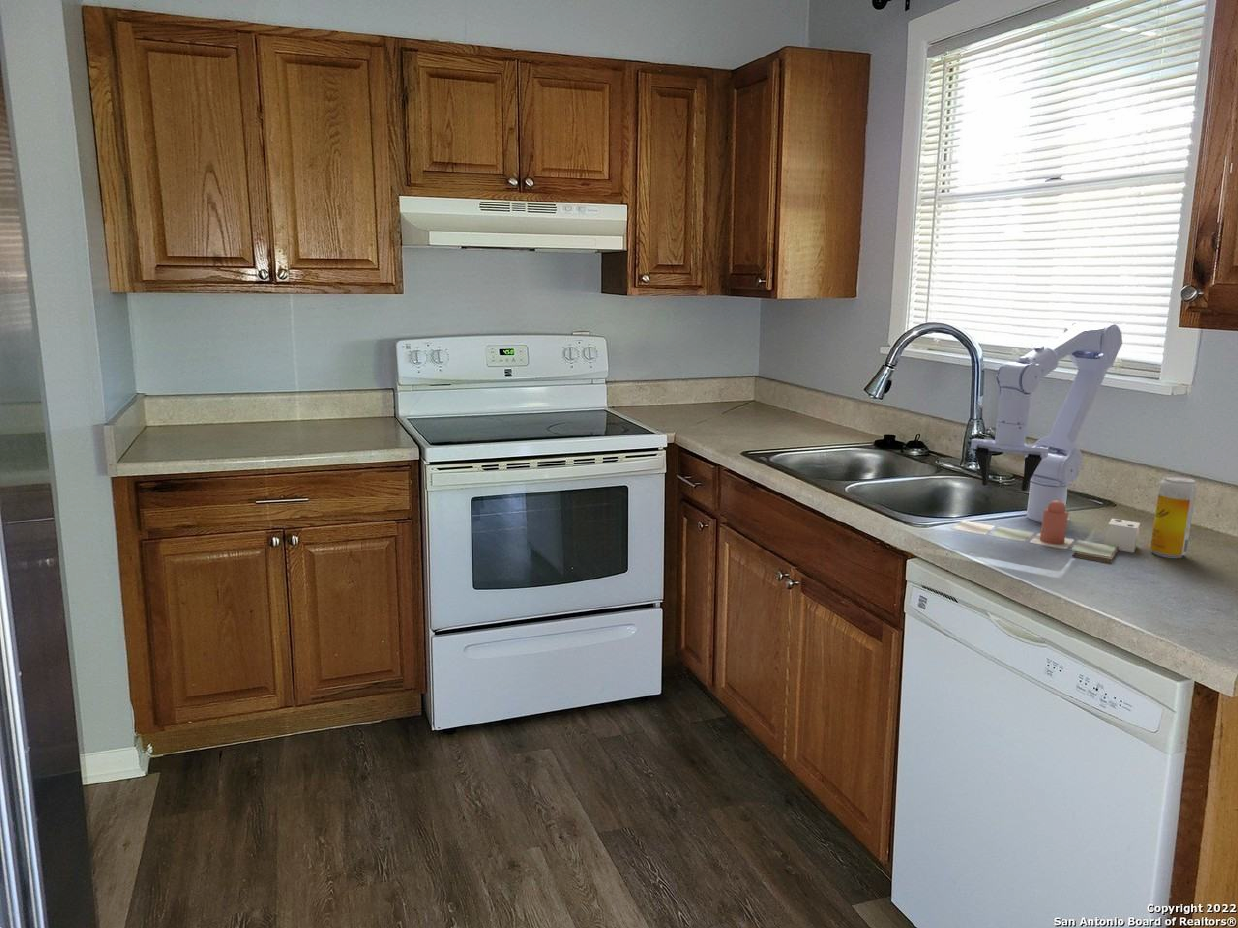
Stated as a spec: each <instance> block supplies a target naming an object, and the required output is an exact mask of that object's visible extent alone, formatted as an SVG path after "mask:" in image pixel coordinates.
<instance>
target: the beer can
mask: <svg viewBox="0 0 1238 928" xmlns="http://www.w3.org/2000/svg"><path fill="white" fill-rule="evenodd" d="M1158 487H1159V488H1158V493H1157V499H1156V507H1155V512H1154V513H1155V514H1154V518H1153V525H1152V532H1151V540H1150V545H1149V549H1151V551H1152V553H1153V554H1154V555H1155V556H1159V557H1163V558H1169V559H1181V558H1183V556H1185V555H1186V554H1187V552H1188V551H1187V549H1188V544H1189V539H1190V538H1189V536H1190V531H1191V525H1192V519H1193V513H1194V506H1195V501H1196V495H1197V494H1196V493H1197V488H1198V486H1197V484H1196V480H1194V479H1192V478H1190V477H1184V476H1179V475H1178V476H1176V475H1166V476H1163V477H1162V479H1161V481H1160V482H1159V485H1158Z"/></svg>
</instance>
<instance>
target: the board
mask: <svg viewBox="0 0 1238 928" xmlns="http://www.w3.org/2000/svg"><path fill="white" fill-rule="evenodd" d="M996 527H997V526H996V525H993V524H992V525H991V524H985V523H982V522H975V521H968V520H963V519H962V520H961V521H959V522H958V523H957V524H955V525H954V526H953V527H951V528H950V529H951V530H955V531H961V532H967V533H972V534H973V533H974V534H978V535H982V536H983V535H988V534H989V533H990V532H991V531H992V530H993V529H995V528H996ZM1034 534H1035V532H1033V531H1029V530H1028V531H1027V530H1021V529H1015V528H1009V527H1004V526H998V527H997V528H996V529H995V530H994V531H992V532H991V534H989V535H988V536H989V537H995V538H1001V539H1007V540H1011V541H1012V540H1013V541H1018V542H1024V543H1026V542H1027V541H1028V540H1029V538H1031V537H1032V536H1033V535H1034ZM1040 534H1041V532H1040V533H1039V532H1038V533H1037V534H1036V535H1035V536H1034V537H1033V538H1032V539H1031V540H1030V541H1029V542H1028V543H1029V544H1034V545H1040V546H1046V547H1052V548H1056V549H1057V548H1058V549H1062V550H1063V549H1064V550H1067V549H1068V548H1069V547H1070V546H1071V545H1072V543H1074V541H1075V539H1072V538H1067V537H1065V540H1064V543H1063V544H1051V543H1046V542H1043V541H1041V540H1040ZM1070 551H1074V553H1073V554H1072V555H1071V557H1074V558H1080V559H1085V560H1091V561H1095V562H1096V561H1097V562H1101V563H1107V564H1112V562H1113V561H1114V559H1115V558H1116V556H1117V554H1118V553H1119V551H1120V550H1119V547H1116V546H1110V545H1105V544H1104V543H1097V542H1091V541H1086V540H1080V539H1078V540H1077V541H1076V542H1075V544H1074V545H1073V546H1072V548H1071V549H1070Z"/></svg>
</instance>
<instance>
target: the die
mask: <svg viewBox="0 0 1238 928" xmlns="http://www.w3.org/2000/svg"><path fill="white" fill-rule="evenodd" d="M1140 525H1141V522H1136V521H1129V520H1124V519H1118V518H1111V520H1109V522H1108V524H1107V530H1106V538H1105V544H1104V545H1110V546H1116V547H1119V550H1118V551H1123V552H1128V553H1134V552H1135V551H1136V549H1137V546H1138V540H1139V539H1138V538H1139V534H1140Z"/></svg>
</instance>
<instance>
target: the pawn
mask: <svg viewBox="0 0 1238 928" xmlns="http://www.w3.org/2000/svg"><path fill="white" fill-rule="evenodd" d="M1068 518H1069V512H1068V511H1067V509H1066V505H1064V504H1063V503H1062V502H1061V501H1057V500H1055V501H1052V502H1050V503H1049V505H1048V509H1044V512H1043V520H1042V522H1041V527H1040V540H1041V541H1043V542H1046V543H1051V544H1063V543H1064V540H1065V538H1066V532H1067V527H1068V525H1067V524H1068V521H1069V520H1068Z"/></svg>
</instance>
